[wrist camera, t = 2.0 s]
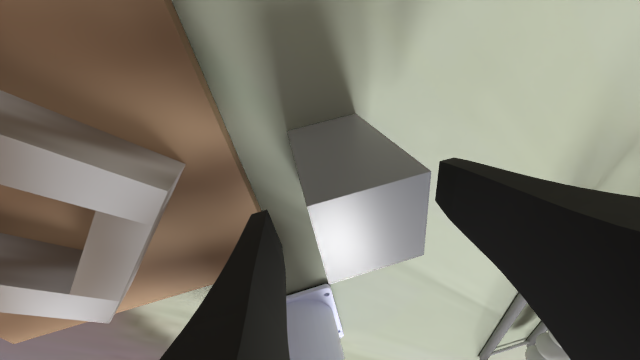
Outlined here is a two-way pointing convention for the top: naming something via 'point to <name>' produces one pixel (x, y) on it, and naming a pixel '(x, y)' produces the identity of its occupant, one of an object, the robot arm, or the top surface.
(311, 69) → the top surface
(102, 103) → the duct base
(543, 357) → the newton's cradle
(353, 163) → the grey rectangular block
